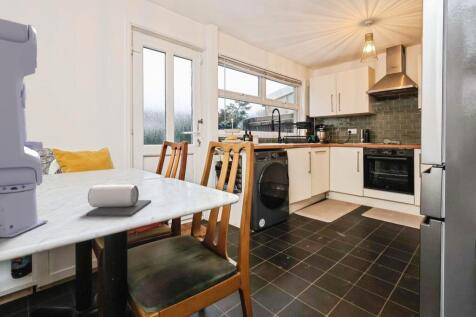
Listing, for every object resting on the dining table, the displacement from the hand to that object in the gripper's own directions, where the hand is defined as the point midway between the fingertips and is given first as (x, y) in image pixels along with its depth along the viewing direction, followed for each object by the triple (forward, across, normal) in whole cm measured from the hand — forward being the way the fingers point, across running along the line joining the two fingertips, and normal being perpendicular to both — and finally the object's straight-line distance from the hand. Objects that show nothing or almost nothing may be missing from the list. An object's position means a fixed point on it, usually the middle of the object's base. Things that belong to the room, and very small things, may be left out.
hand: (15, 175), depth 64 cm
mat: (+10, -26, -6) cm, 29 cm away
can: (+7, -18, -5) cm, 20 cm away
